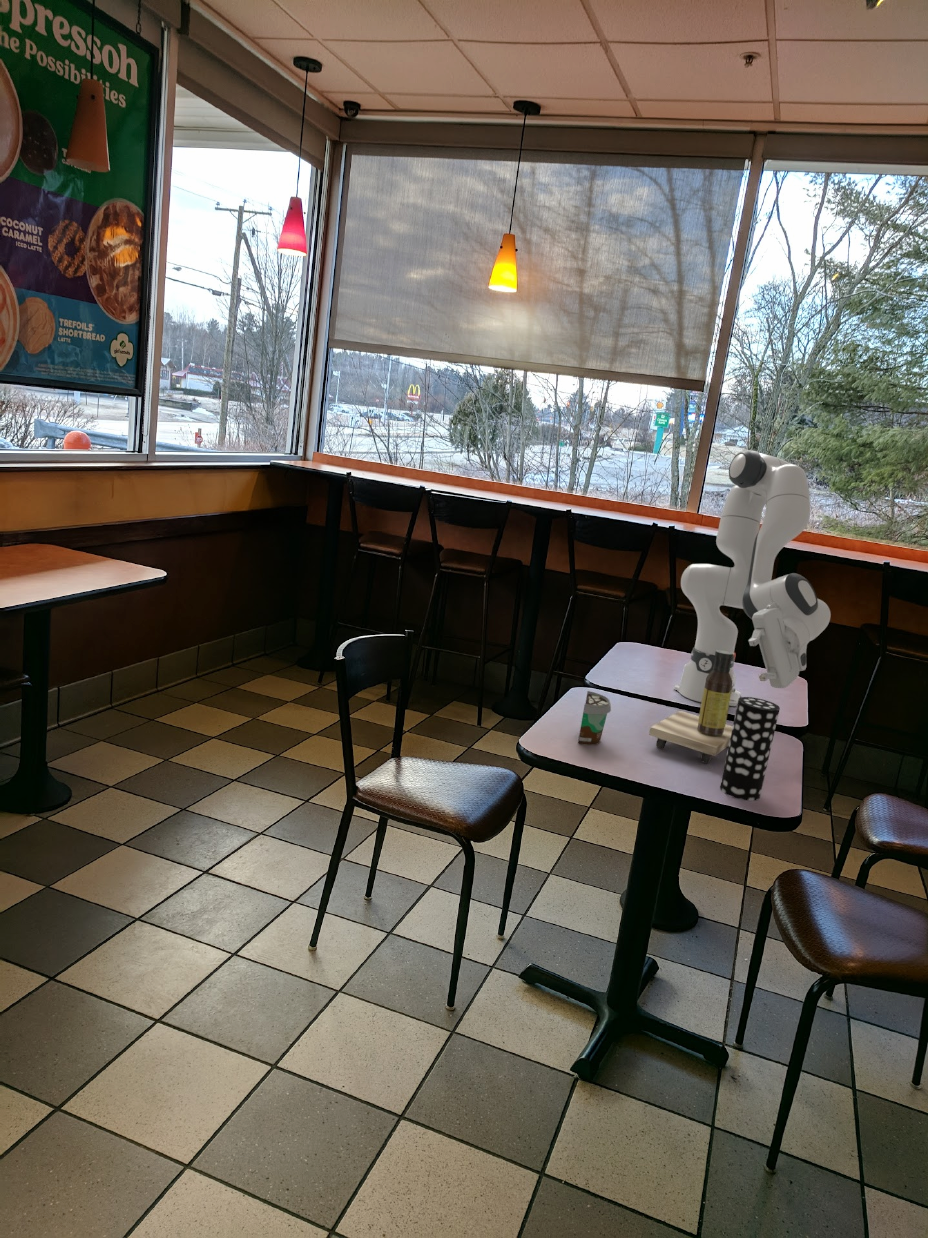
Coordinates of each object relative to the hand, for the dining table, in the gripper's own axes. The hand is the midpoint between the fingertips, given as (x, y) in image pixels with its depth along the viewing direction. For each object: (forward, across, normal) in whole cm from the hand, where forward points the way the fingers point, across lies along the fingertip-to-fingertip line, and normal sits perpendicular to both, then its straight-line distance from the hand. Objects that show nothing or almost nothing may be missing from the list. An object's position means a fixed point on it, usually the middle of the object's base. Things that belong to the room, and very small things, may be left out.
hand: (756, 661), depth 210 cm
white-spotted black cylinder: (+34, +15, -13) cm, 39 cm away
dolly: (+20, +14, +9) cm, 26 cm away
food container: (+40, +2, +20) cm, 45 cm away
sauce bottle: (+18, +10, +4) cm, 22 cm away
